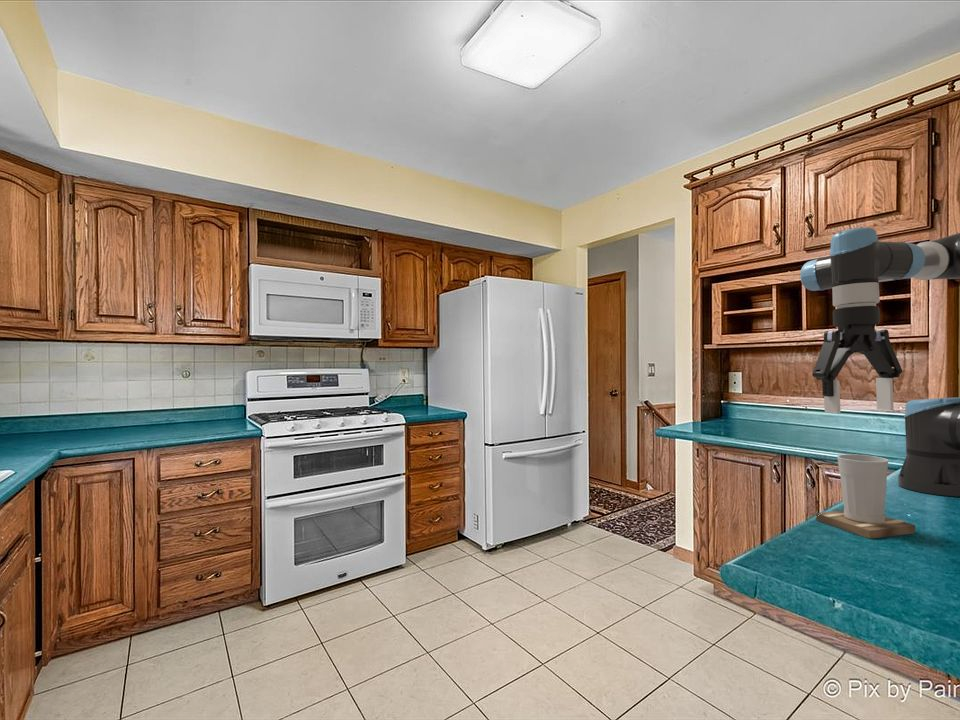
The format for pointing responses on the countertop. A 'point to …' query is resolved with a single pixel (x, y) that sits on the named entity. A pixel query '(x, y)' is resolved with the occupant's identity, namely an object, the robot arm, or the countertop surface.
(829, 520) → the striped wooden coaster
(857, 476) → the cup
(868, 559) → the countertop surface
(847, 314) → the robot arm
